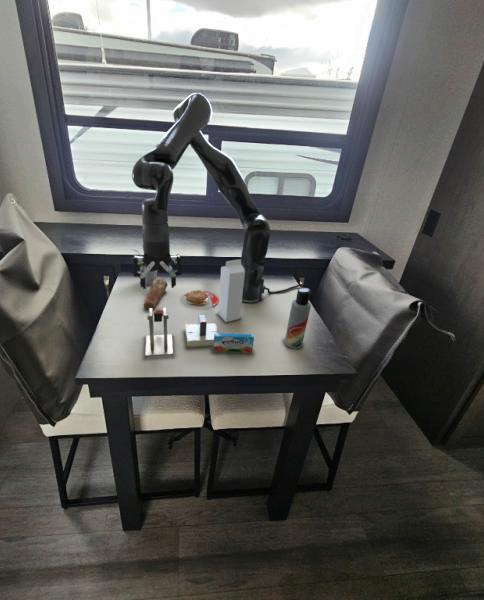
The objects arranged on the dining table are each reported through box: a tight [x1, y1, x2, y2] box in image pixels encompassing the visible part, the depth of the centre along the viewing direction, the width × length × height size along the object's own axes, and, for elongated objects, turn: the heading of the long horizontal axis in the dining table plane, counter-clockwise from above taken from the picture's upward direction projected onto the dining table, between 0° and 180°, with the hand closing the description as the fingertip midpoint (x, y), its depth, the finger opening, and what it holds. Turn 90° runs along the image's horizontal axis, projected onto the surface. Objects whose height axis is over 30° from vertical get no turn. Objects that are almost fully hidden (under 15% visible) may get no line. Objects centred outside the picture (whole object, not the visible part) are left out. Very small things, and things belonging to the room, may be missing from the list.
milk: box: [217, 258, 245, 323], centre depth 110 cm, size 6×6×22 cm
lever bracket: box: [144, 307, 174, 357], centre depth 94 cm, size 10×8×13 cm
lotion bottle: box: [284, 287, 312, 349], centre depth 98 cm, size 6×6×20 cm
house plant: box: [131, 242, 158, 286], centre depth 132 cm, size 14×14×16 cm
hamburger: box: [183, 289, 219, 307], centre depth 123 cm, size 14×14×6 cm
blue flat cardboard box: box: [212, 333, 255, 354], centre depth 96 cm, size 12×2×6 cm, turn 93°
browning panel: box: [184, 322, 219, 347], centre depth 101 cm, size 10×9×3 cm
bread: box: [143, 276, 168, 311], centre depth 121 cm, size 6×19×6 cm, turn 175°
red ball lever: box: [153, 308, 163, 323], centre depth 97 cm, size 13×3×3 cm, turn 10°
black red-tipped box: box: [197, 314, 208, 336], centre depth 99 cm, size 5×2×5 cm, turn 9°
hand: (158, 287), depth 98 cm, fingers open, 8 cm apart
